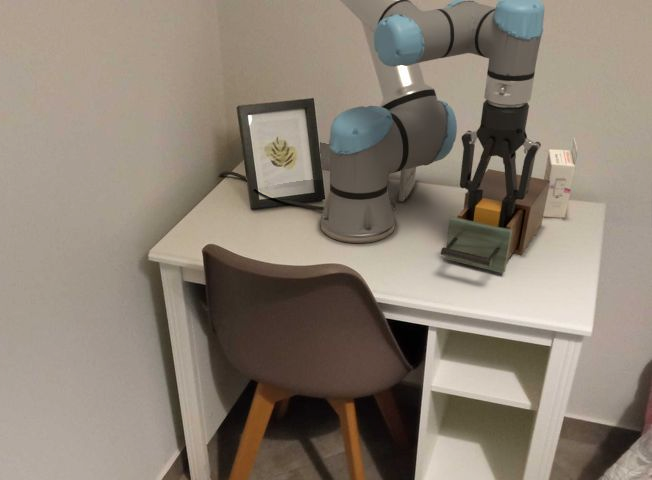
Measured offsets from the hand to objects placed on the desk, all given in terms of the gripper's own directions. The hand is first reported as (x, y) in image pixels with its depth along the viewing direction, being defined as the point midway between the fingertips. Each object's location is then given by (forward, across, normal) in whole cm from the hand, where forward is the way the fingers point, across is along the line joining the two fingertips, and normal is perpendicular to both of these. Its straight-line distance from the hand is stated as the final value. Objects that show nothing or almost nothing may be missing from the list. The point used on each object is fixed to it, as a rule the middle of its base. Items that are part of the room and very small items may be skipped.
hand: (487, 227), depth 132 cm
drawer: (+6, 0, -2) cm, 6 cm away
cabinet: (+6, 0, +11) cm, 13 cm away
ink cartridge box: (+6, +6, +27) cm, 28 cm away
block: (0, 0, 0) cm, 0 cm away
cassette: (+6, -25, +21) cm, 33 cm away
